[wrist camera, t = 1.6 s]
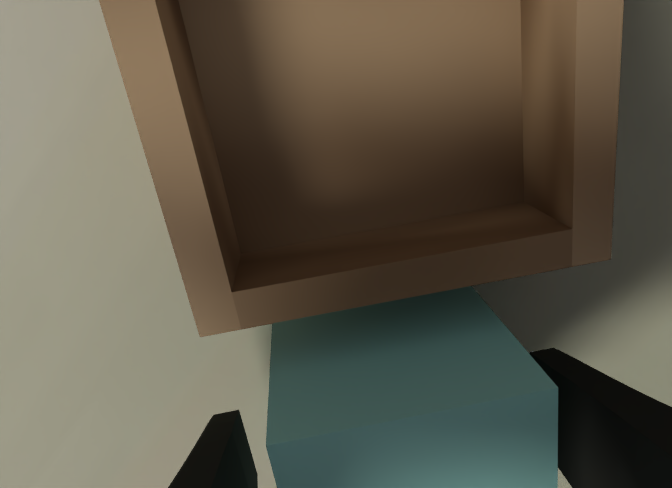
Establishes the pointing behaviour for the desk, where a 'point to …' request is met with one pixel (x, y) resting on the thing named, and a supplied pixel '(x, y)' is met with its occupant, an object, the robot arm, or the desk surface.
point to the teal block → (409, 399)
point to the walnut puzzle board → (371, 144)
